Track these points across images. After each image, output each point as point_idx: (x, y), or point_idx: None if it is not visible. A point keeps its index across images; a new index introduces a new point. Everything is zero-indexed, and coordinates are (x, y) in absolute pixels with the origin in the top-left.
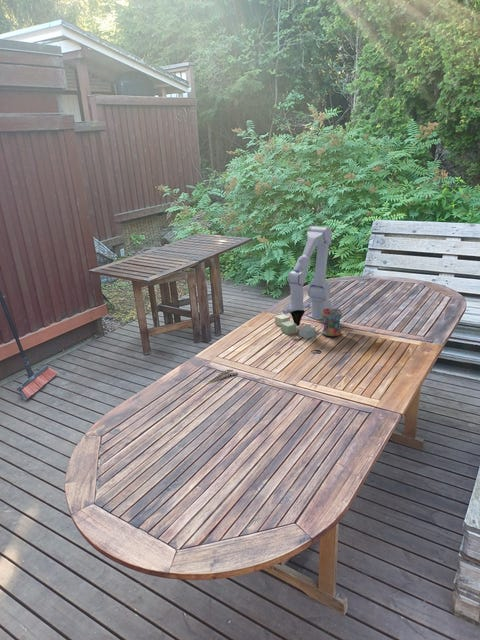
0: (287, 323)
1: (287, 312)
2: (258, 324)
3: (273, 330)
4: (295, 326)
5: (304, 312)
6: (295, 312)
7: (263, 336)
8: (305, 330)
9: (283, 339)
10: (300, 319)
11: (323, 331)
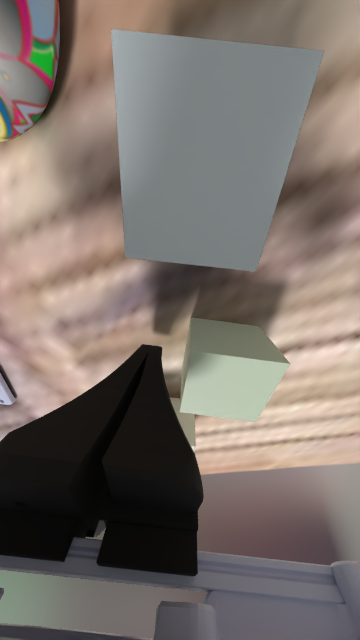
0: (232, 396)
1: (322, 592)
2: (234, 455)
3: None
4: (201, 339)
5: (3, 440)
6: (162, 513)
7: (351, 389)
8: (305, 104)
9: (356, 290)
10: (122, 372)
11: (25, 2)
